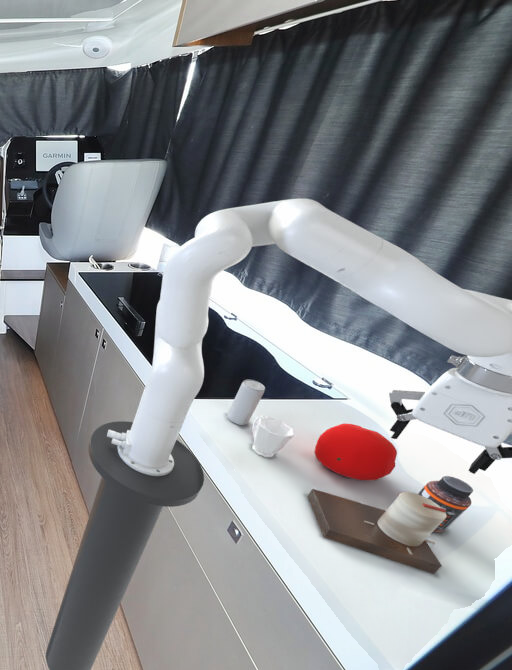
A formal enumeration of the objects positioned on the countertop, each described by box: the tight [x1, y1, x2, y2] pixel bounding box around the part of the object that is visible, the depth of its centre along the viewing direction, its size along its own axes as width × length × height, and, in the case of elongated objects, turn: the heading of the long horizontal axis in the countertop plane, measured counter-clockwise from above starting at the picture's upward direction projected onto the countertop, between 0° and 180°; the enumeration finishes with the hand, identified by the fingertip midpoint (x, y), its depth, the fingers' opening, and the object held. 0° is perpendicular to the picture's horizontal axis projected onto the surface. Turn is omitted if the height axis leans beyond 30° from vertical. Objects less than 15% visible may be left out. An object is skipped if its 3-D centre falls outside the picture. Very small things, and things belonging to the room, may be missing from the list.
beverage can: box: [226, 379, 266, 426], centre depth 111 cm, size 5×5×12 cm
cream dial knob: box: [378, 491, 446, 547], centre depth 80 cm, size 6×6×8 cm
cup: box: [251, 415, 295, 458], centre depth 103 cm, size 7×10×8 cm
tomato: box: [314, 423, 398, 481], centre depth 96 cm, size 13×13×13 cm
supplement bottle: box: [417, 475, 474, 533], centre depth 84 cm, size 6×6×11 cm
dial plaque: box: [307, 488, 443, 575], centre depth 84 cm, size 17×11×3 cm, turn 63°
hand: (432, 451), depth 76 cm, fingers open, 9 cm apart
